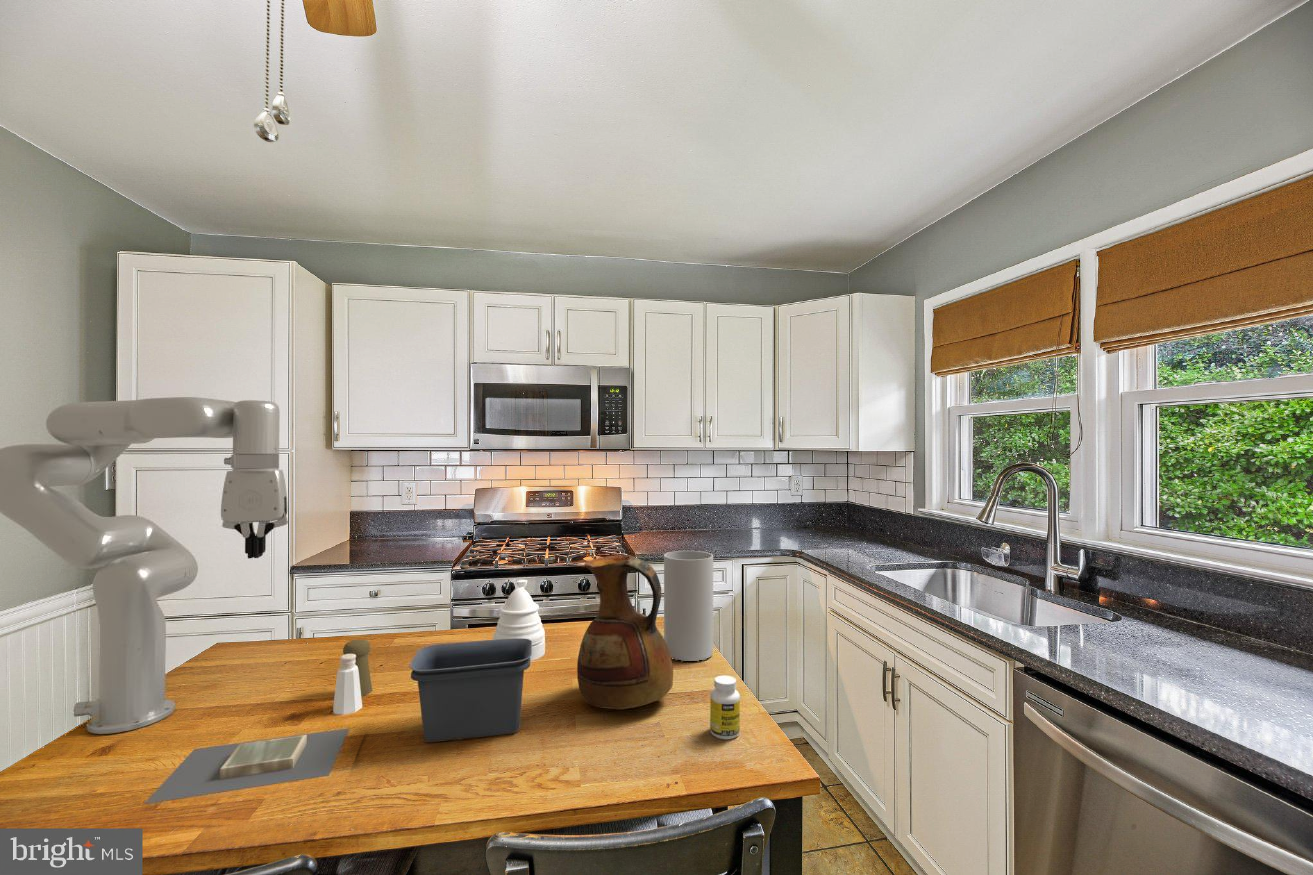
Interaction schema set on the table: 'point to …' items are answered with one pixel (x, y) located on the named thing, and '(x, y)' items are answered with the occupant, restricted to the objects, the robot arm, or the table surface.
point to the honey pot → (521, 620)
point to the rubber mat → (204, 775)
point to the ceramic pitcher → (623, 642)
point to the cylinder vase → (688, 604)
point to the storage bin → (471, 687)
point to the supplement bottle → (725, 708)
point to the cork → (361, 662)
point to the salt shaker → (347, 687)
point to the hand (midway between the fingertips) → (255, 556)
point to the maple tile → (264, 756)
